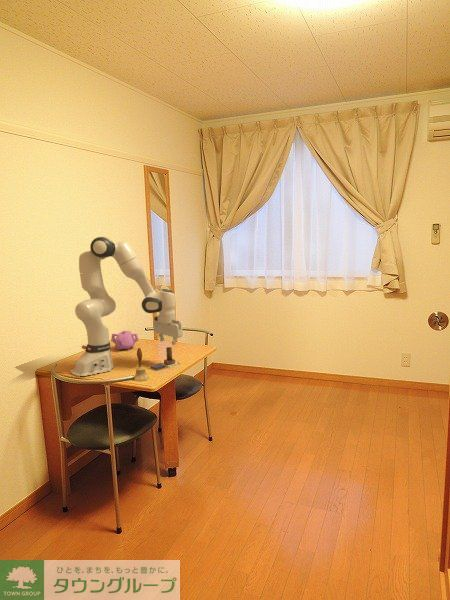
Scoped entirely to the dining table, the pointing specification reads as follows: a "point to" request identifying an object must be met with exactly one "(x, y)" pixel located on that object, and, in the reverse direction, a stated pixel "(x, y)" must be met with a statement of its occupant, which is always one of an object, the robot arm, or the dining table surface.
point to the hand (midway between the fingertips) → (167, 342)
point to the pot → (124, 340)
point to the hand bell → (140, 369)
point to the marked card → (170, 365)
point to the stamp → (169, 357)
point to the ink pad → (157, 367)
